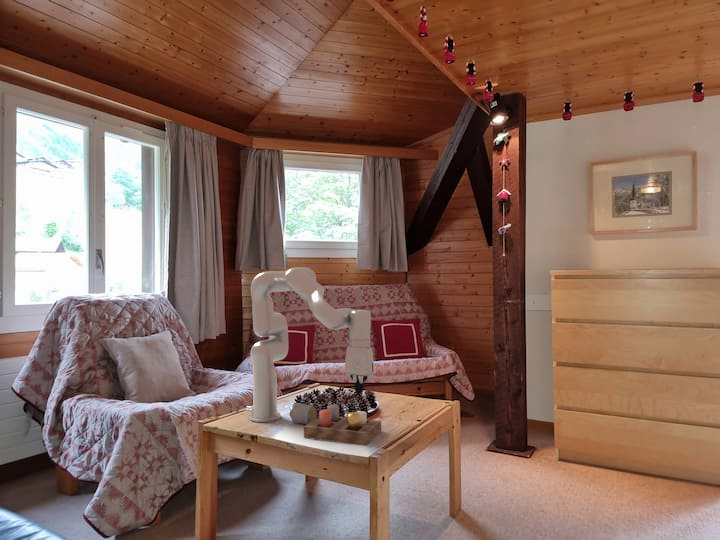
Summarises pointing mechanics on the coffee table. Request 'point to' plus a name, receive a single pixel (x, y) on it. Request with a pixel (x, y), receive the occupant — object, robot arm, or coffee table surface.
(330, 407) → the gray block
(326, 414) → the pink cylinder
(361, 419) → the cream white block
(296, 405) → the ceramic mug
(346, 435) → the box
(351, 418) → the gold round piece
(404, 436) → the coffee table surface
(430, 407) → the coffee table surface
